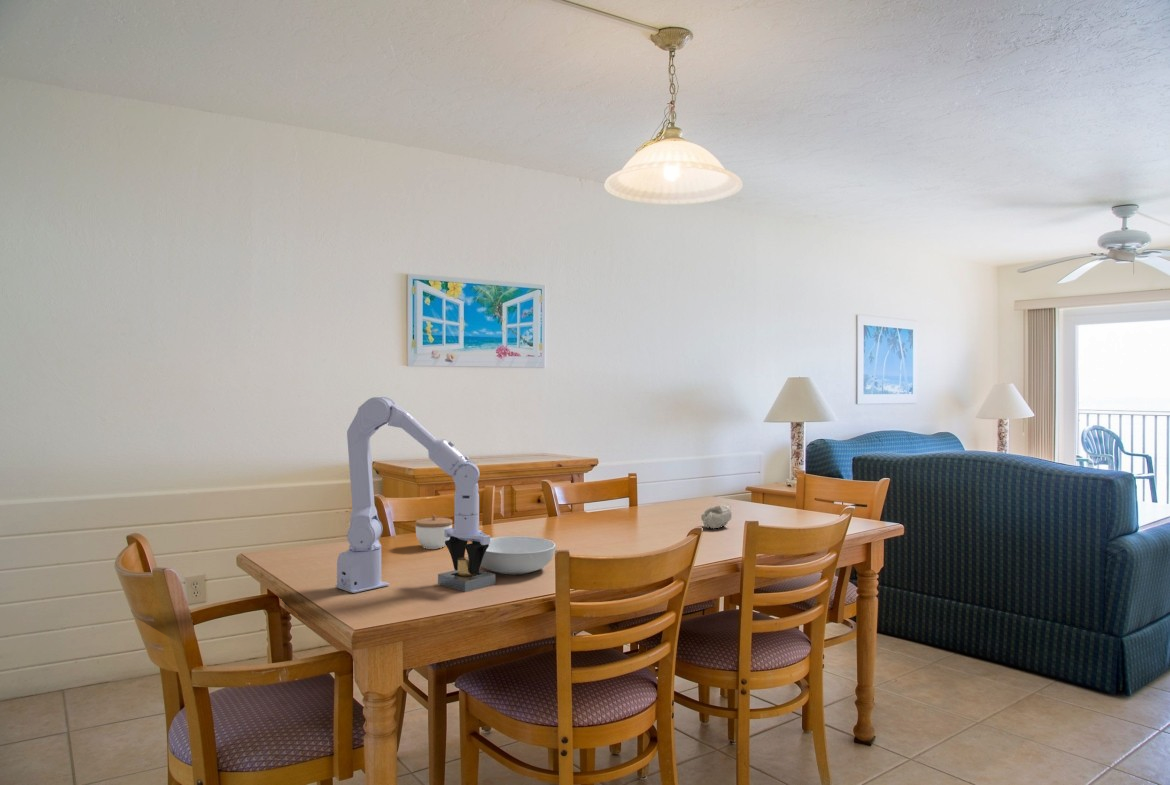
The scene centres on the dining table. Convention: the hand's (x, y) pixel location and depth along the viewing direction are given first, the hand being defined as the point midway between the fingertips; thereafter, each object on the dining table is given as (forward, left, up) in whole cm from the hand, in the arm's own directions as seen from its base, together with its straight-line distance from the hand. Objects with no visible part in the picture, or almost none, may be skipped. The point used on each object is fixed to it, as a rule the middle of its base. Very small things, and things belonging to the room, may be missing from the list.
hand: (466, 571), depth 176 cm
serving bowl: (+17, +2, -3) cm, 17 cm away
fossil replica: (+104, -3, -3) cm, 104 cm away
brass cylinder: (0, 0, -3) cm, 3 cm away
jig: (0, 0, -3) cm, 3 cm away
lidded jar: (+21, +41, -3) cm, 46 cm away
